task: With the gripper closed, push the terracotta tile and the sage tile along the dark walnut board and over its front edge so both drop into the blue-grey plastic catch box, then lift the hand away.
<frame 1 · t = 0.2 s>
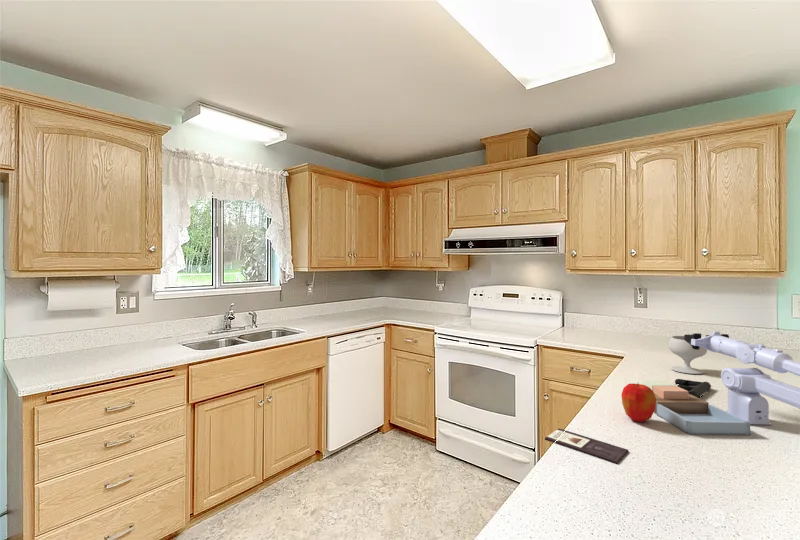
hand: (695, 337, 139), 22 cm above the counter, tool horizontal, fingers open, 7 cm apart
black toy gun: (681, 391, 147), on the counter
chalice: (687, 371, 174), on the counter
tile front: (670, 396, 129), point 4 cm above the counter, touching walnut board
tile rear: (658, 390, 135), point 4 cm above the counter, touching walnut board
apple: (638, 421, 118), on the counter
catch box: (700, 424, 115), on the counter
walnut board: (665, 405, 131), on the counter
chocolate bar: (585, 447, 102), on the counter
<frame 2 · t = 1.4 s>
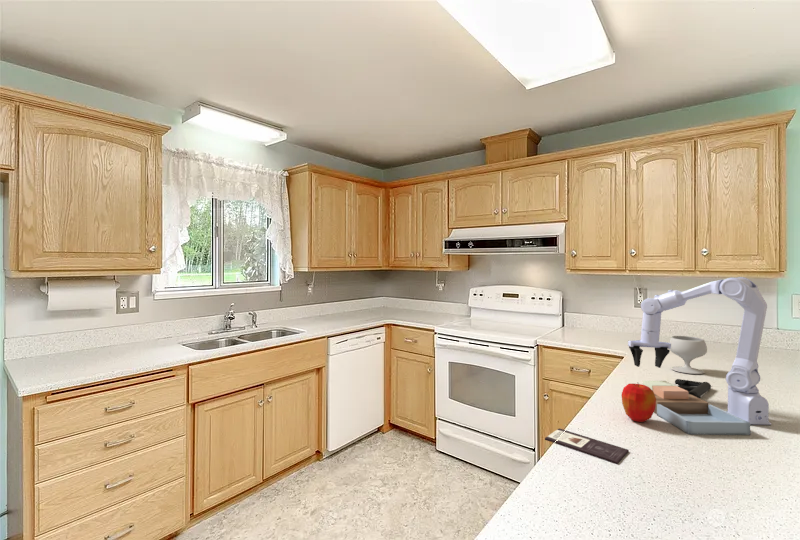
hand: (647, 366, 143), 10 cm above the counter, tool pointing down, fingers open, 7 cm apart
nothing on the counter moved.
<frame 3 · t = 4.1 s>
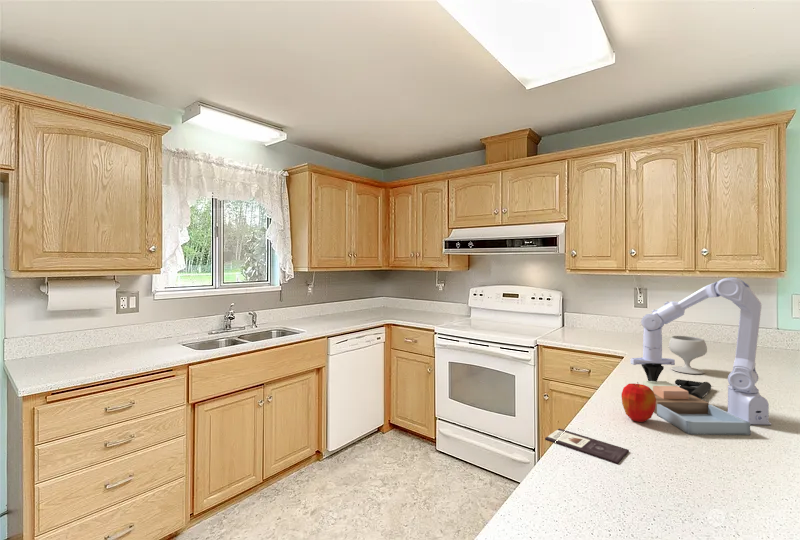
hand: (652, 384, 138), 5 cm above the counter, tool pointing down, fingers closed, pressing on tile rear
tile rear: (659, 390, 134), point 4 cm above the counter, touching gripper, walnut board
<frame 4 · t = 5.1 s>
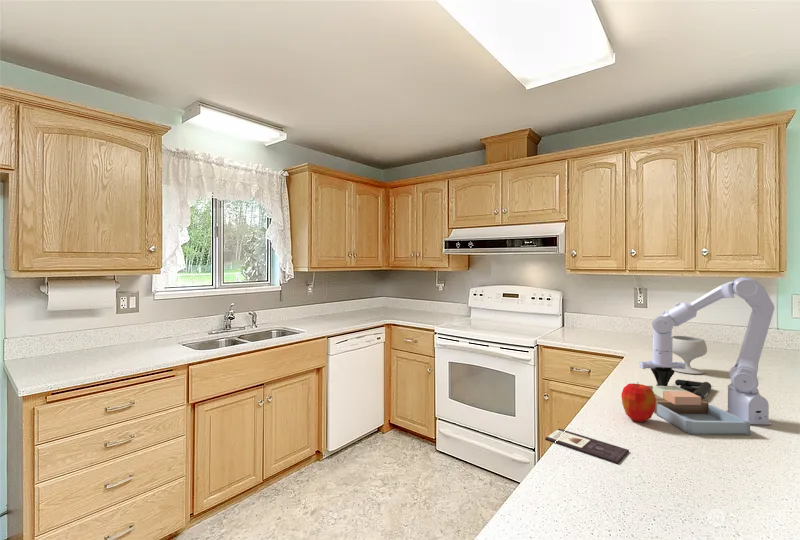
hand: (662, 389, 133), 5 cm above the counter, tool pointing down, fingers closed, pressing on tile rear
tile front: (681, 401, 123), point 4 cm above the counter, touching tile rear, walnut board
tile rear: (670, 395, 129), point 4 cm above the counter, touching gripper, tile front
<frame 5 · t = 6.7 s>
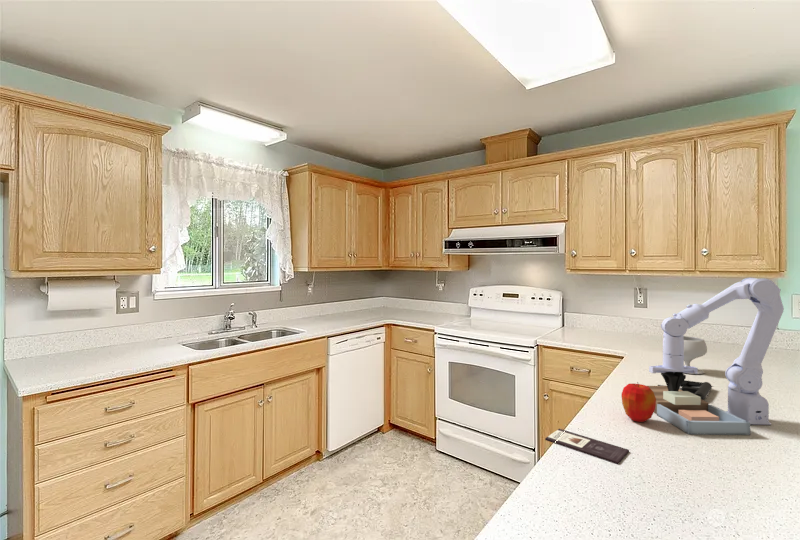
hand: (672, 394, 127), 5 cm above the counter, tool pointing down, fingers closed
tile front: (698, 413, 116), point 3 cm above the counter, tilted 180°, touching catch box
tile rear: (681, 401, 123), point 4 cm above the counter, touching walnut board
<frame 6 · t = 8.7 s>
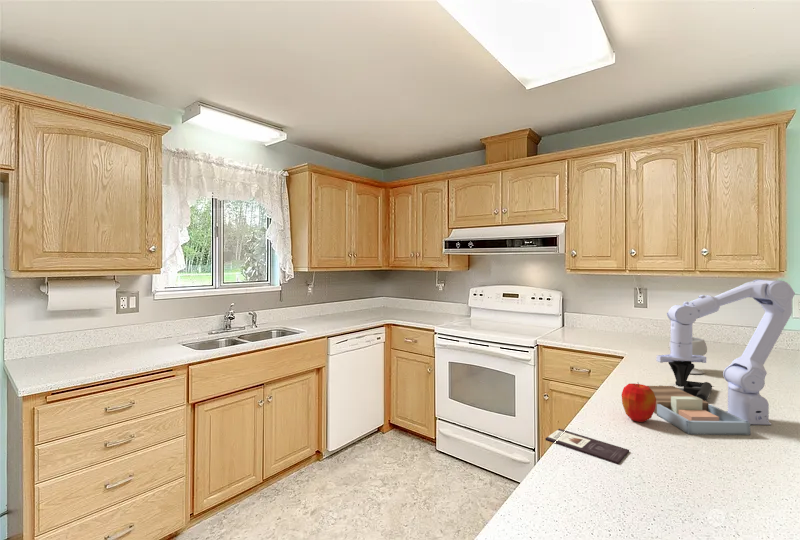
hand: (681, 384, 124), 9 cm above the counter, tool pointing down, fingers closed
tile rear: (683, 405, 122), point 3 cm above the counter, tilted 90°, touching catch box
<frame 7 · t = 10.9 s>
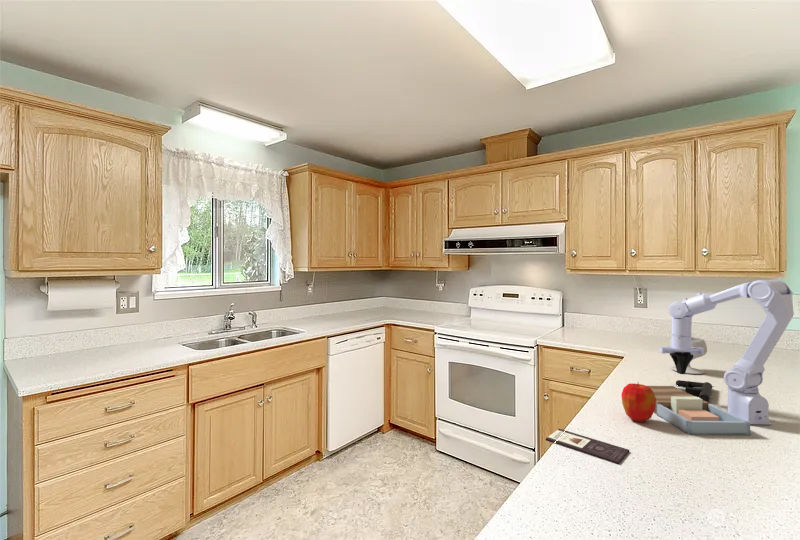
hand: (681, 373, 136), 9 cm above the counter, tool pointing down, fingers closed
at the end: tile front inside the target area (0.3 cm from its centre), point 3.0 cm above the counter; tile rear inside the target area (6.5 cm from its centre), point 3.2 cm above the counter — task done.
